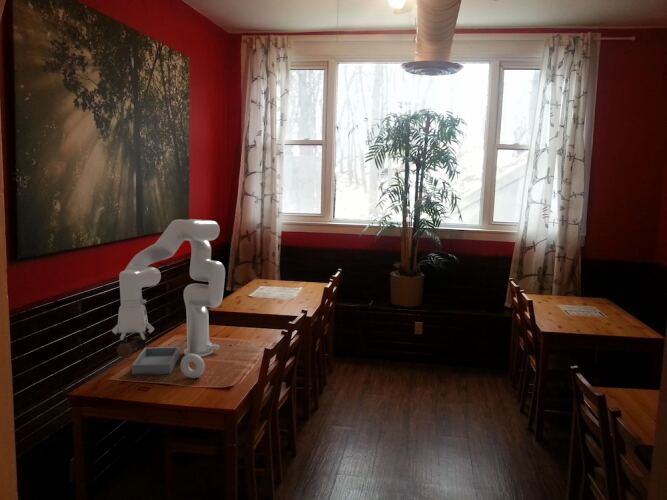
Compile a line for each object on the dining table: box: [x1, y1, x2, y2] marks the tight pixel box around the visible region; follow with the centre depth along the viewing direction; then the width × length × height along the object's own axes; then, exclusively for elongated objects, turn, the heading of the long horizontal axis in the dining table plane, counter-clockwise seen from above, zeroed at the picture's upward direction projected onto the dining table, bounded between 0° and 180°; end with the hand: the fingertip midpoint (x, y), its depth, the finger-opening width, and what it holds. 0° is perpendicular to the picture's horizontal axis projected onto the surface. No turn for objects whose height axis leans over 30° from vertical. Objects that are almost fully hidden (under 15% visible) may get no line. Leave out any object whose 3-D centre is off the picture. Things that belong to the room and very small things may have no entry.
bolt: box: [116, 335, 148, 359], centre depth 203 cm, size 6×5×15 cm
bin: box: [131, 346, 181, 376], centre depth 225 cm, size 15×21×4 cm
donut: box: [179, 354, 206, 379], centre depth 212 cm, size 10×4×10 cm, turn 80°
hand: (134, 348), depth 204 cm, fingers closed on bolt, 5 cm apart
